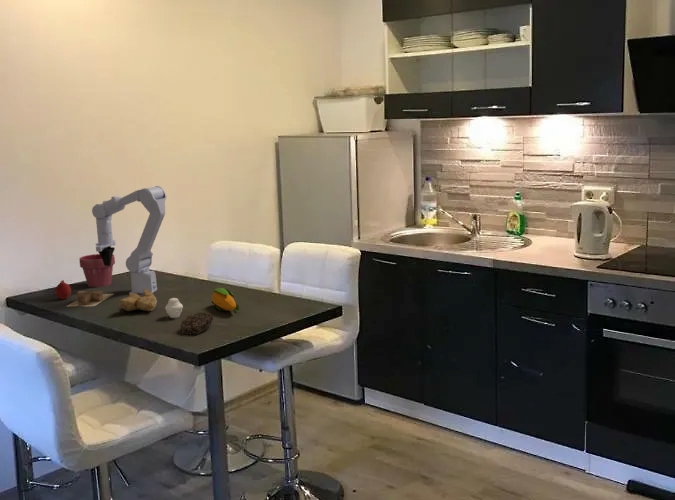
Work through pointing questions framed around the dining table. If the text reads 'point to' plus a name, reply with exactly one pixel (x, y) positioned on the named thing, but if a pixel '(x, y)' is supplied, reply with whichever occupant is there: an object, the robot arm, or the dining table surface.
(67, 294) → the onion
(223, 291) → the corn
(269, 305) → the dining table surface
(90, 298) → the t block
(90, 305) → the board
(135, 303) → the ginger root
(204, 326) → the dark brown lumpy piece
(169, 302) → the white jar
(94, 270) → the plant pot
